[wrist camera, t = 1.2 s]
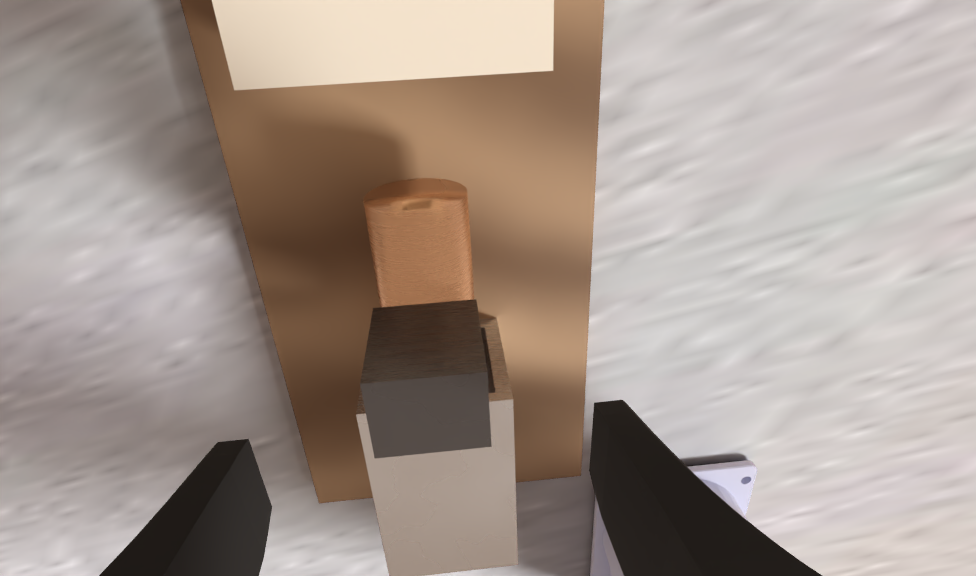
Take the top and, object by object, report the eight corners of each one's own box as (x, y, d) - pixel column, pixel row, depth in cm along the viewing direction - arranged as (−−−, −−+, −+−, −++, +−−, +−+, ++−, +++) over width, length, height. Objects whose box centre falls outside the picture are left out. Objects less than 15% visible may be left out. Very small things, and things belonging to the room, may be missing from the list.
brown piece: (484, 479, 24) (502, 632, 18) (415, 486, 24) (410, 643, 18) (464, 175, 18) (481, 266, 12) (368, 182, 17) (339, 278, 12)
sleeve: (503, 467, 25) (518, 564, 21) (396, 479, 25) (390, 579, 21) (496, 317, 21) (512, 399, 17) (370, 328, 21) (355, 414, 17)
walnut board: (575, 459, 27) (580, 475, 26) (322, 485, 26) (318, 503, 25) (601, -135, 16) (611, -141, 15) (163, -117, 15) (146, -123, 14)
